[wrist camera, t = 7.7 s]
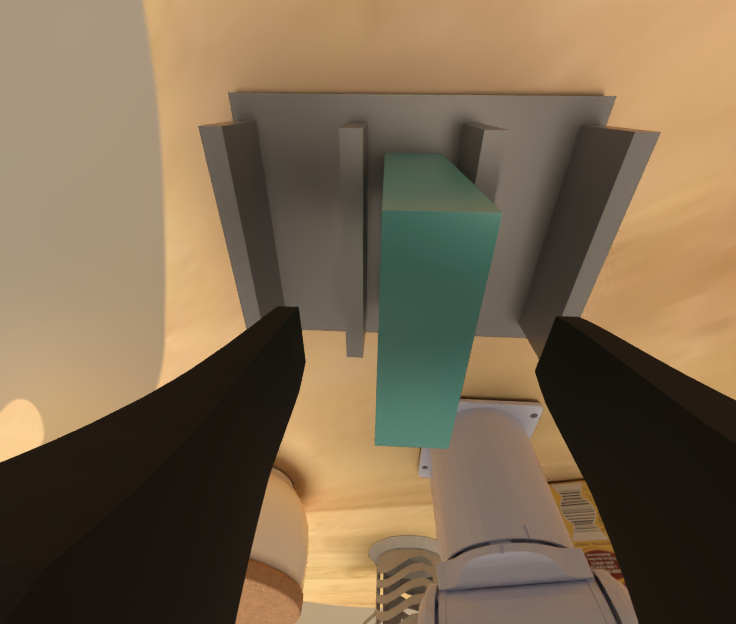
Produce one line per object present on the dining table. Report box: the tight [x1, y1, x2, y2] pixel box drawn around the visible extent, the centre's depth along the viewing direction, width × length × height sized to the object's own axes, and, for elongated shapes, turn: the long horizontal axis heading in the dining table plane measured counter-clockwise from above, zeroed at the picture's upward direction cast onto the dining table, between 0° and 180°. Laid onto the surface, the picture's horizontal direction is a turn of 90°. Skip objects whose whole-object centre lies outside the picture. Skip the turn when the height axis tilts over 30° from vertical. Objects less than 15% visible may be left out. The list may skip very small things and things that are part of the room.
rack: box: [198, 93, 661, 359], centre depth 15 cm, size 12×16×4 cm
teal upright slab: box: [375, 153, 503, 449], centre depth 13 cm, size 8×2×9 cm, turn 0°
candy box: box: [548, 480, 627, 588], centre depth 24 cm, size 9×4×15 cm, turn 18°
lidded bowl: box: [235, 467, 309, 624], centre depth 27 cm, size 13×13×11 cm
